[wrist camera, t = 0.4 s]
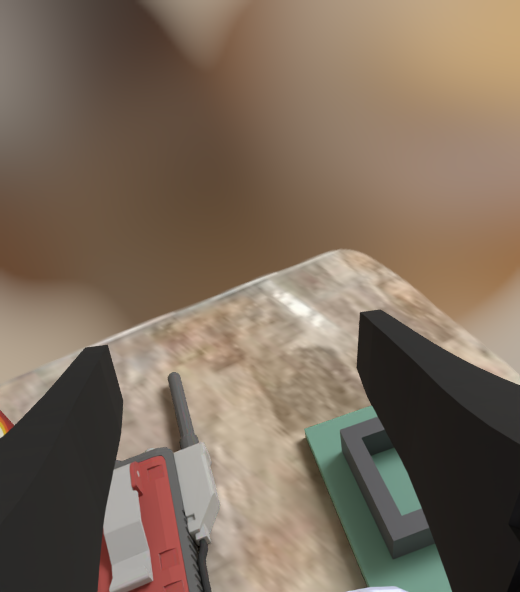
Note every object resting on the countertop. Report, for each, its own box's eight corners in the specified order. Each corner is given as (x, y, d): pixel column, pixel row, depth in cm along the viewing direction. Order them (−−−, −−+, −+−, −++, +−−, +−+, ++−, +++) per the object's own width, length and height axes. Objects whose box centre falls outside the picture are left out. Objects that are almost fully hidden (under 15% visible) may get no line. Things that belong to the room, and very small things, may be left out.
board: (747, 744, 19) (796, 732, 17) (482, 866, 18) (497, 871, 15) (458, 383, 34) (463, 351, 32) (305, 436, 33) (300, 407, 31)
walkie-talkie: (263, 651, 24) (190, 379, 39) (247, 627, 21) (174, 344, 37) (100, 726, 23) (88, 416, 38) (60, 711, 20) (65, 383, 35)
